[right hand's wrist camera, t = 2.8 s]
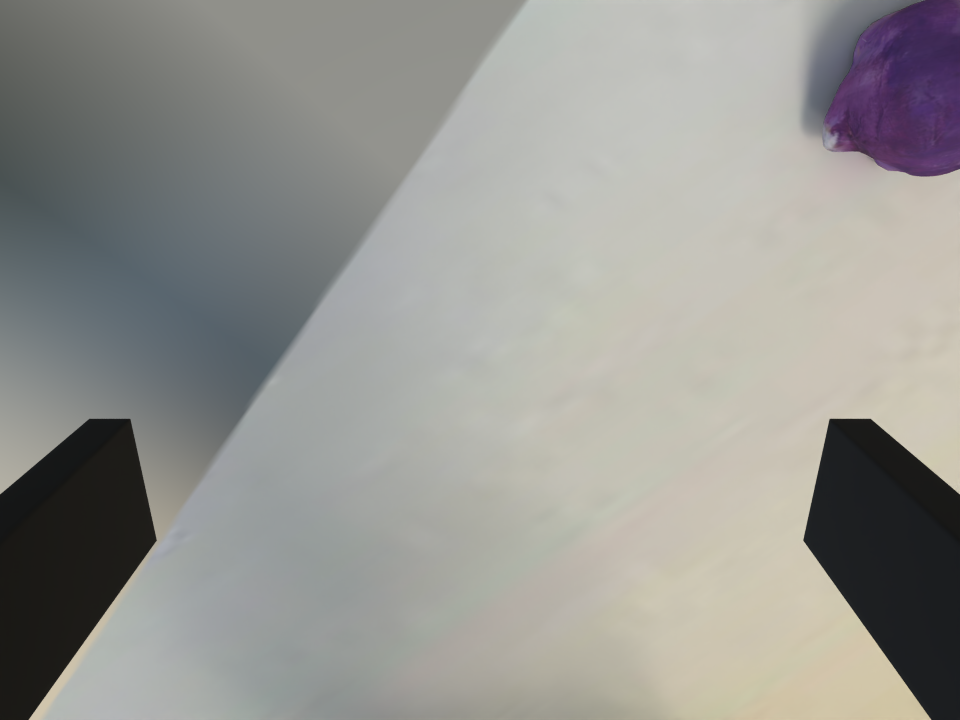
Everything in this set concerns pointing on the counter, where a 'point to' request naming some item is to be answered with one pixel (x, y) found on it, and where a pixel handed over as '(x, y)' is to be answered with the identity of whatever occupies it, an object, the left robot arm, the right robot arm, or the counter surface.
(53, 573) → the right robot arm
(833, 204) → the counter surface
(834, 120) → the figurine
